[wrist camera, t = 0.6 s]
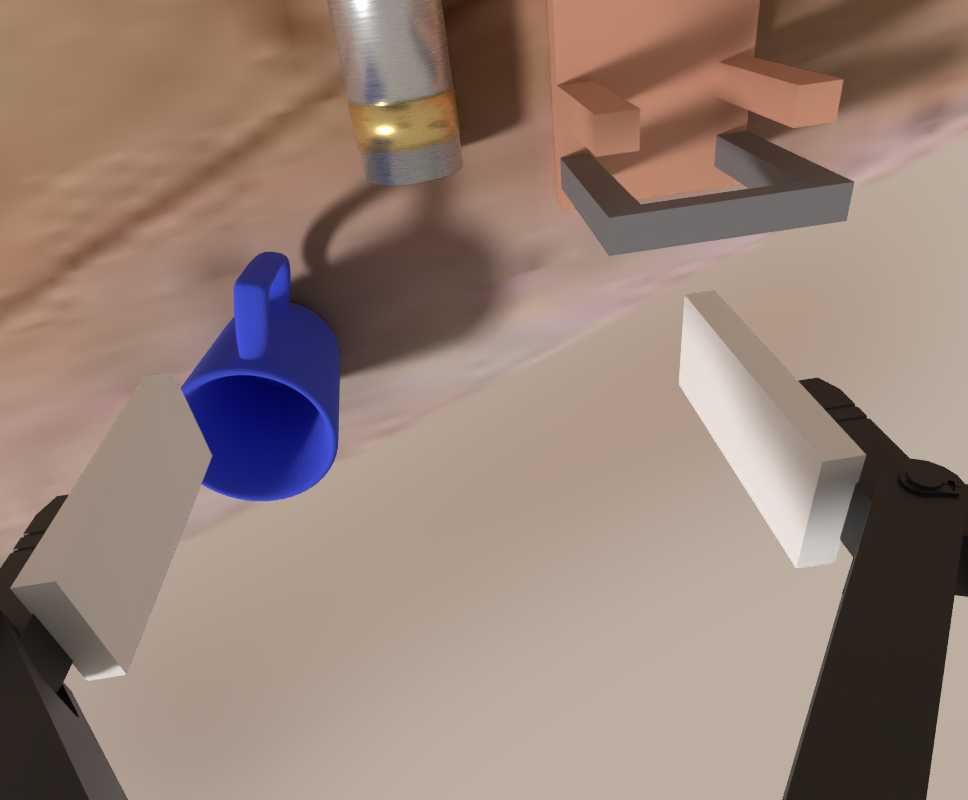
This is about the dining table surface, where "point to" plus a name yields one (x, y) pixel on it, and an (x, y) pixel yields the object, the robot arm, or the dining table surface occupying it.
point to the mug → (268, 391)
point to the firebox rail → (681, 124)
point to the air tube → (398, 88)
